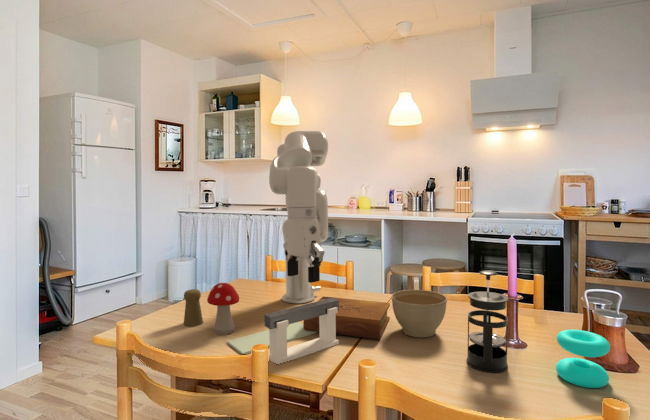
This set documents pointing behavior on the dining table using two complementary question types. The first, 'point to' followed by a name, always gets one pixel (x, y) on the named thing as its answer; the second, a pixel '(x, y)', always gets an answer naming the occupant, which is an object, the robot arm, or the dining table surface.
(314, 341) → the rack
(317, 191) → the robot arm
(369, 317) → the diary
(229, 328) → the decorative mushroom
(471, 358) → the french press
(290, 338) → the mat
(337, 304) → the rail
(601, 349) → the donuts
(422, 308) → the planter bowl
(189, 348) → the dining table surface
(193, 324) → the cork
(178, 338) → the dining table surface
